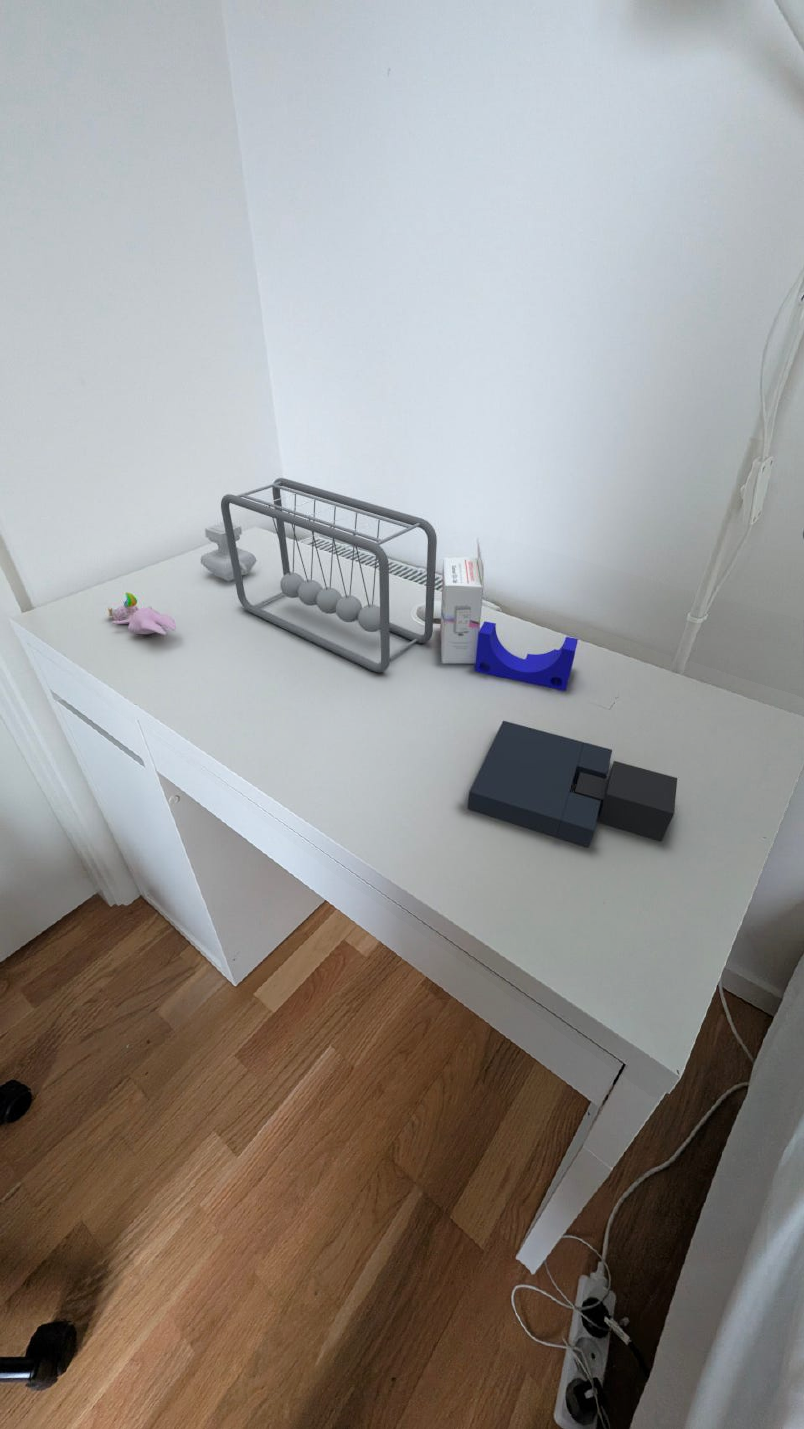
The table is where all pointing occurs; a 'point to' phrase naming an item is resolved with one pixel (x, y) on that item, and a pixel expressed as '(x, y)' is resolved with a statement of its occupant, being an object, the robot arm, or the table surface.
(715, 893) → the table surface
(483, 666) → the blue half-round bracket
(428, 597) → the newton's cradle
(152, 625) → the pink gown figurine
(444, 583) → the ink cartridge box
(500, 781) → the grey pad
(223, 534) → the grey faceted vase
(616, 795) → the black usb stick
